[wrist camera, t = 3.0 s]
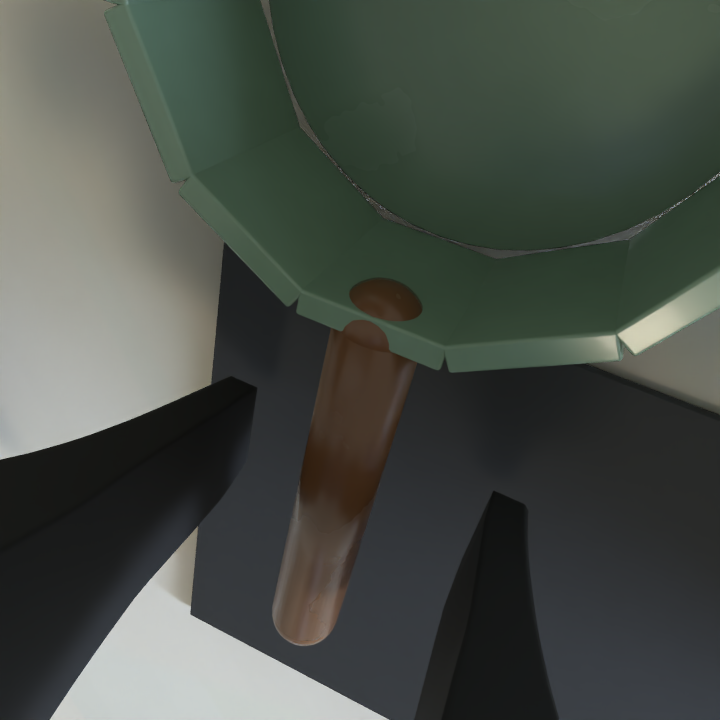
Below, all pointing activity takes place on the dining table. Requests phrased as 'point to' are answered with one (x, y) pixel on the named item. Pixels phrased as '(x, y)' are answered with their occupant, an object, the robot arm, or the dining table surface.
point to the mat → (463, 512)
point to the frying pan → (437, 199)
